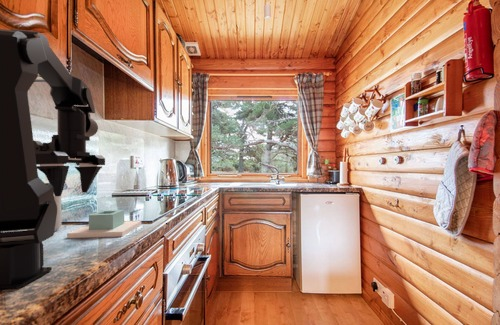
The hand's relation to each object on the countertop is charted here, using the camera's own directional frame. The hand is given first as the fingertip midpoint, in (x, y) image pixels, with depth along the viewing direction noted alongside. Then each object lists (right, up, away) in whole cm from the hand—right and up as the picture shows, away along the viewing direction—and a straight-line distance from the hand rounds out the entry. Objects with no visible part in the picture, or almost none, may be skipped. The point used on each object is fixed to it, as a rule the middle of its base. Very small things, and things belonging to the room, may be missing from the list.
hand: (72, 194), depth 61 cm
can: (-14, -12, +9) cm, 20 cm away
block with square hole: (+4, -10, +8) cm, 14 cm away
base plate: (+4, -11, +8) cm, 15 cm away
